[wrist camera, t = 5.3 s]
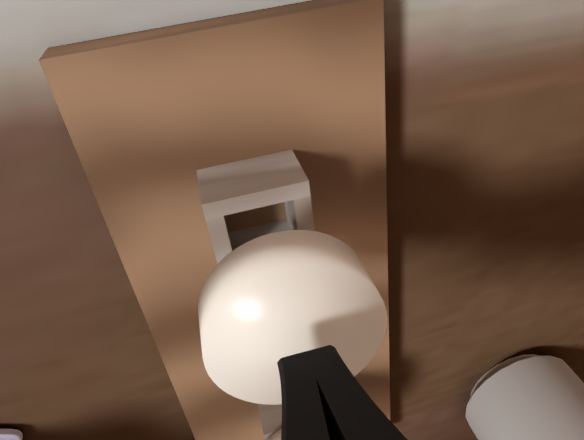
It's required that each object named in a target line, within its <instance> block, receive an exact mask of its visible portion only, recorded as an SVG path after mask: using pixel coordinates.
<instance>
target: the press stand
mask: <svg viewBox="0 0 584 440" xmlns="http://www.w3.org/2000/svg"><path fill="white" fill-rule="evenodd" d="M39 62H40V64H41V67H42V69H43V71H44V74H45V76H46V79H47V81H48V84H49V86H50V88H51V91H52V93H53V96H54V98H55V101H56V103H57V105H58V108H59V110H60V113H61V115H62V118H63V120H64V122H65V125H66V127H67V130H68V132H69V135H70V137H71V139H72V142H73V144H74V147H75V149H76V151H77V154H78V156H79V159H80V161H81V164H82V166H83V168H84V171H85V173H86V176H87V178H88V181H89V183H90V185H91V188H92V190H93V193H94V195H95V198H96V200H97V202H98V205H99V207H100V210H101V212H102V215H103V217H104V219H105V222H106V224H107V227H108V229H109V232H110V234H111V236H112V239H113V241H114V244H115V246H116V249H117V251H118V253H119V256H120V258H121V261H122V263H123V265H124V268H125V270H126V273H127V275H128V278H129V280H130V282H131V285H132V287H133V290H134V292H135V295H136V297H137V299H138V302H139V304H140V307H141V309H142V312H143V314H144V316H145V319H146V321H147V324H148V326H149V329H150V331H151V333H152V336H153V338H154V341H155V343H156V346H157V348H158V350H159V353H160V355H161V358H162V360H163V362H164V365H165V367H166V370H167V372H168V375H169V377H170V379H171V382H172V384H173V387H174V389H175V392H176V394H177V396H178V399H179V401H180V404H181V406H182V409H183V411H184V413H185V416H186V418H187V421H188V423H189V426H190V428H191V430H192V433H193V435H194V438H195V440H267V439H268V438H269V437H270V436H271V435H273V434H274V433H275V432H277V431H279V430H280V429H281V426H282V404H278V405H269V404H257V403H252V402H247V401H244V400H241V399H238V398H235V397H233V396H231V395H229V394H227V393H226V392H225V391H223V390H222V389H220V388H219V387H218V386H217V385H216V384H215V383H214V382H213V381H212V379H211V378H210V377H209V375H208V373H207V371H206V369H205V366H204V362H203V358H202V348H201V337H200V327H199V317H198V302H199V296H200V293H201V289H202V287H203V285H204V283H205V280H206V279H207V277H208V276H209V274H210V273H211V271H212V270H213V269H214V267H215V266H216V265H217V264H218V263H219V262H220V261H221V260H222V259H223V258H224V257H225V256H227V255H228V254H229V253H230V252H232V251H233V250H235V249H236V248H237V247H239V246H241V245H243V244H245V243H246V242H248V241H250V240H253V239H255V238H258V237H260V236H263V235H267V234H270V233H274V232H280V231H286V230H310V231H316V232H321V233H324V234H328V235H331V236H333V237H335V238H337V239H339V240H341V241H342V242H344V243H345V244H347V245H348V246H349V247H350V248H351V249H352V250H353V251H354V252H355V253H356V254H357V256H358V257H359V258H360V260H361V262H362V264H363V265H364V267H365V269H366V271H367V272H368V274H369V276H370V278H371V280H372V281H373V283H374V285H375V287H376V288H377V290H378V292H379V294H380V296H381V297H382V299H383V301H384V304H385V307H386V312H387V328H386V332H385V336H384V338H383V341H382V344H381V345H380V347H379V349H378V351H377V353H376V354H375V355H374V357H373V358H372V359H371V361H370V362H369V363H368V364H367V365H366V366H365V367H364V368H363V369H362V370H361V371H360V372H359V373H358V374H357V375H355V376H354V377H355V378H356V380H357V381H358V382H359V384H360V385H361V386H362V388H363V389H364V390H365V391H366V393H367V394H368V395H369V396H370V398H371V399H372V400H373V401H374V403H375V404H376V405H377V406H378V407H379V408H380V410H381V411H382V412H383V413H384V414H385V415H386V417H387V418H388V419H389V420H390V363H389V301H388V239H387V178H386V116H385V54H384V0H312V1H306V2H300V3H295V4H289V5H284V6H278V7H273V8H267V9H262V10H256V11H250V12H245V13H239V14H234V15H228V16H223V17H217V18H212V19H206V20H201V21H195V22H189V23H184V24H178V25H173V26H167V27H162V28H156V29H151V30H145V31H139V32H134V33H128V34H123V35H117V36H112V37H106V38H101V39H95V40H89V41H84V42H78V43H73V44H67V45H62V46H56V47H51V48H48V49H47V50H46V51H45V53H44V54H43V55H42V57H41V58H40V59H39Z"/></svg>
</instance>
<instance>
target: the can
mask: <svg viewBox="0 0 584 440" xmlns="http://www.w3.org/2000/svg"><path fill="white" fill-rule="evenodd" d="M465 417H466V419H467V421H468V423H469V425H470V427H471V429H472V430H473V432H474V434H475V435H476V437H477V439H478V440H584V383H583V382H582V380H581V379H580V378H579V377H578V376H577V375H576V374H575V373H574V371H573V370H572V369H571V368H570V367H569V366H568V365H567V364H566V363H565V362H564V361H563V360H562V359H560V358H557V357H553V356H540V355H536V354H526V355H520V356H516V357H513V358H509V359H507V360H505V361H503V362H501V363H499V364H497V365H496V366H494V367H493V368H492V369H490V370H489V371H487V372H486V373H485V374H484V375H483V376H482V377H481V378H480V379H479V380H478V381H477V382H476V384H475V386H474V388H473V389H472V391H471V395H470V400H469V402H468V404H467V408H466V416H465Z"/></svg>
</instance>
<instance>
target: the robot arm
mask: <svg viewBox="0 0 584 440" xmlns="http://www.w3.org/2000/svg"><path fill="white" fill-rule="evenodd" d="M277 364H278V369H279V374H280V382H281V396H282V426H281V440H407V439H406V438H405V437H404V436H403V435H402V434H401V432H400V431H399V430H398V429H397V428H396V427H395V426H394V425H393V424H392V422H391V421H390V420H389V419H388V418H387V417H386V415H385V414H384V413H383V412H382V411H381V410H380V408H379V407H378V406H377V405H376V404H375V403H374V401H373V400H372V399H371V398H370V396H369V395H368V394H367V393H366V391H365V390H364V389H363V388H362V386H361V385H360V384H359V382H358V381H357V380H356V378H355V377H354V376H353V374H352V373H351V371H350V370H349V369H348V367H347V366H346V364H345V363H344V361H343V360H342V358H341V357H340V355H339V353H338V352H337V350H336V348H335V347H334V346H332V345H328V346H324V347H320V348H316V349H313V350H309V351H305V352H301V353H298V354H294V355H290V356H286V357H283V358H281V359H280V360H279V361H278V362H277ZM22 438H23V434H22V432H21V431H19V430H17V429H0V440H22Z"/></svg>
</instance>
